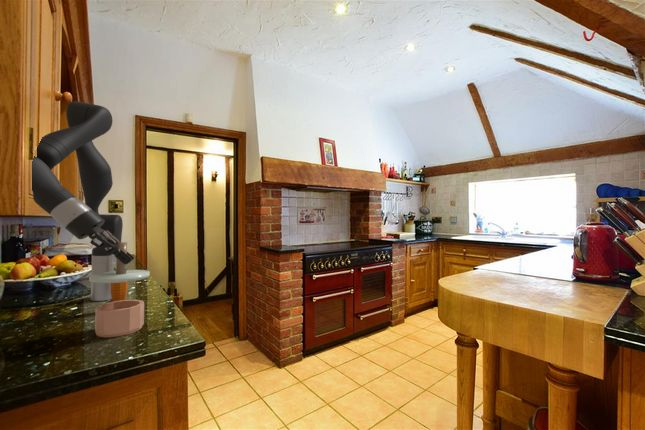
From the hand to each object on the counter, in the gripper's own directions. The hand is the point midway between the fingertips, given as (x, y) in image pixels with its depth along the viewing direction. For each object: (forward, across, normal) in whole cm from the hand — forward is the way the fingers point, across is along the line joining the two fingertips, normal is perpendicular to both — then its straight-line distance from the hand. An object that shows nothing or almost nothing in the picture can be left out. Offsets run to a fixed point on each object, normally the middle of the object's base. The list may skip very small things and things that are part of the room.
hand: (130, 261), depth 82 cm
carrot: (+9, +22, +19) cm, 30 cm away
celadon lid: (+2, 0, +5) cm, 5 cm away
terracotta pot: (+12, 0, +15) cm, 19 cm away
